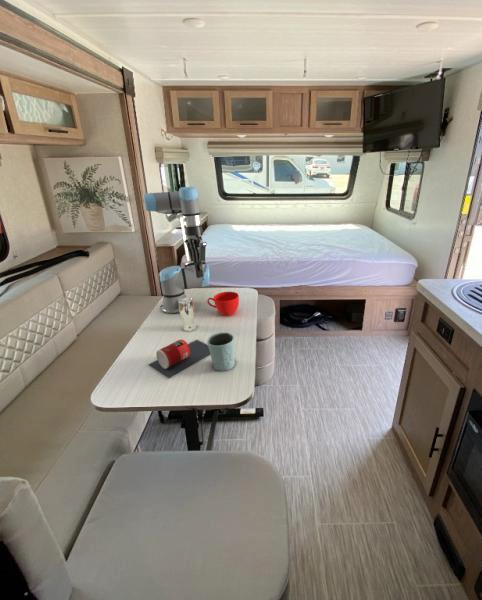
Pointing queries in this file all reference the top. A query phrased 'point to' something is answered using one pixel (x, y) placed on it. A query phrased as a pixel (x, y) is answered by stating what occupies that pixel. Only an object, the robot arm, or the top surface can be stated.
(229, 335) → the pale teal tumbler
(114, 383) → the top surface
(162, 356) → the canned food
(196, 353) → the mat
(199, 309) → the top surface
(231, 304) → the ceramic cup
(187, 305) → the beer glass
